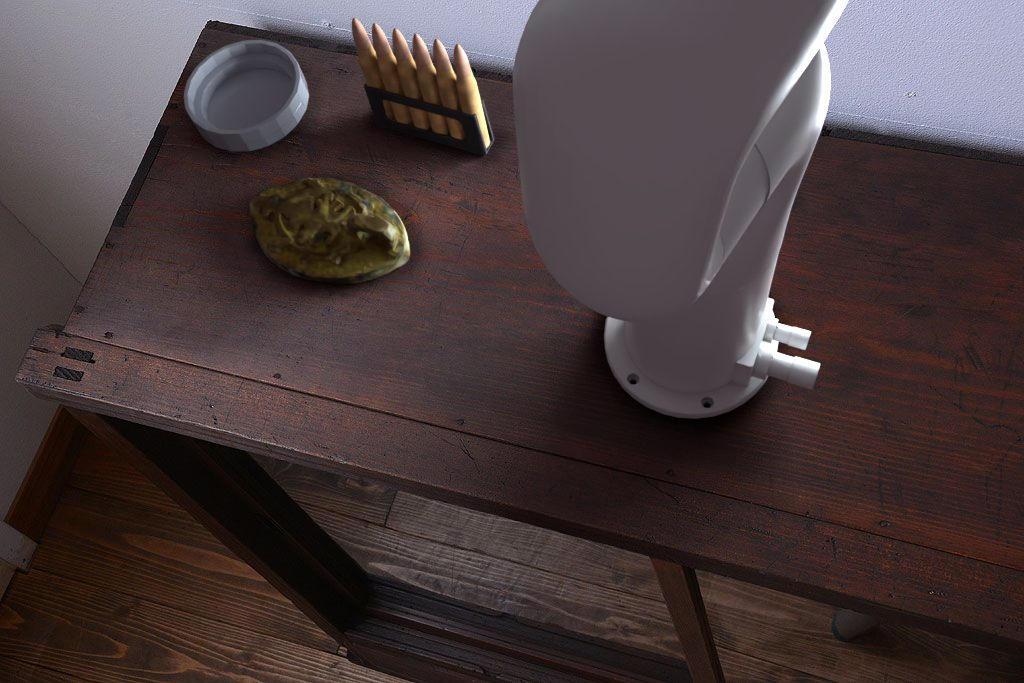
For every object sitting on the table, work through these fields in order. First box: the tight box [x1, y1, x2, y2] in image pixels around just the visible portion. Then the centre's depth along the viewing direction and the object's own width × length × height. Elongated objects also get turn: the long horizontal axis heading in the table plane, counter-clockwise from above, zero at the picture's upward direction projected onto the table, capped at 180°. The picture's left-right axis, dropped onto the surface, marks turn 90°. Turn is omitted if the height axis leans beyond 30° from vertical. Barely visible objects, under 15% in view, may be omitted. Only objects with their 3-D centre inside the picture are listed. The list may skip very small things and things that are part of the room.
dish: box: [183, 39, 310, 153], centre depth 86 cm, size 10×10×3 cm
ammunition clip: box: [351, 17, 495, 157], centre depth 78 cm, size 11×2×12 cm, turn 66°
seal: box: [248, 176, 411, 285], centre depth 78 cm, size 9×5×15 cm
